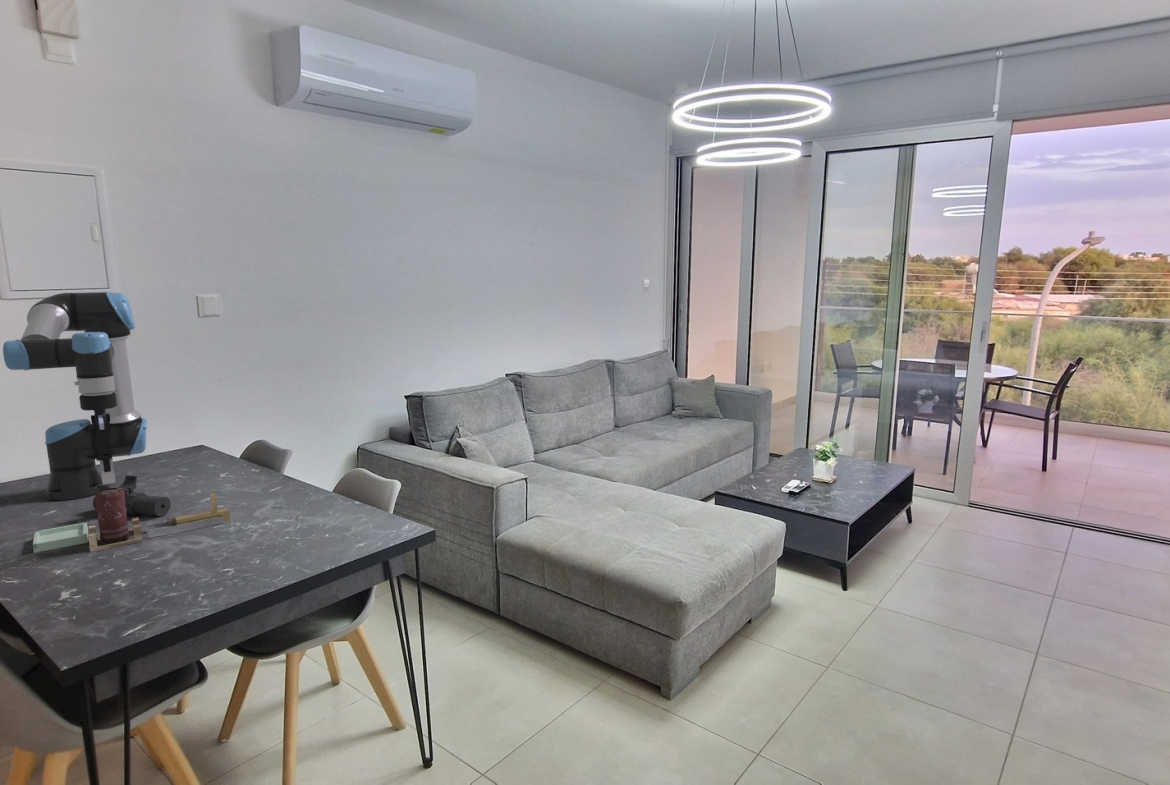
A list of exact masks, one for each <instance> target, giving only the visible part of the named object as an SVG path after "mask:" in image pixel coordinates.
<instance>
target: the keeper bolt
mask: <svg viewBox="0 0 1170 785" xmlns="http://www.w3.org/2000/svg"><path fill="white" fill-rule="evenodd" d="M209 497H210V509H211V510H207V511H201V512H197V513H192V514H185V515H179V516H175V517H169V518H166V521H167V524H168V526H171V525H176V524H182V523H187V522H192V521H198V520H203V519H208V518H213V517H219V516H223V519H224V523H225V522H229V521H231V513H230V509H229V508H228V507H225V508H218V501H217V495H216V493H215V492H212V493H209Z"/></svg>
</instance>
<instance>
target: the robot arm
mask: <svg viewBox="0 0 1170 785" xmlns="http://www.w3.org/2000/svg"><path fill="white" fill-rule="evenodd" d="M26 321H27V324H26V327H25V330H24V332H23V334H22V336H21V338H20V339H15V340H14V339H13V340H7V341H5V342H4V343H3V346H2V353H3V354H2V356H3V359H4V363H5V366H6V367H7V369H9V370H11V371H19V370H20V371H22V370H24V371H29V370H31V371H32V370H43V369H57V368H58V369H61V368H75V371H76V372H75V373H76V380H77V381H74V386H77V388H78V393H79V394H80V395H79V398H78V400H79V405H80V409H81V410H83V411H93V412H94V414H92V415H90V419H91V420H89V419H87V418H83V419H75V420H69V421H65V422H60V423H57V424H54V425H51V426H49V427H48V428H47V429H46V430H45V433H44V434H45V441H44V444H45V445H46V450H47V451H46V452H47V458H48V459H47V460H48V464H49V466H48V467H49V472H50V473H49V478H48V482H47V486H46V489H45V494H46V499H48V500H51V501H67V500H68V501H69V500H76V499H82V498H86V497H90V496H94V495H96V493H97V492H98V491H99V488H98V486H97V485H109V484H115V483H116V482H117V481H116V476H115V468H114V461H113V458H116V457H124V456H125V457H126V456H133V455H139V454H142V453H144V452H145V451H146V448H147V447H146V446H147V424H148V423H147V422H148V420H147V419H146V418H143V417H142V415H141V412H139V411H138V410H135V403H134V397H133V396H134V395H133V388H132V387H133V386H132V379H131V373H130V365H129V358H128V348H127V343H126V340H128V338H129V337H130V336H131V330H132V331H133V330H134V329H135V328H136V324H135V320H134V316H133V312H132V308H131V305H130V302H129V299H128V297H127V296H126V294H124V293H123V292H109V291H103V292H102V291H98V292H96V291H94V292H91V291H90V292H62V293H57V294H53V295H49V296H48V297H45V298H43V299H42V300H39V301H38V302H36V303H35V304H33V305H32V306H31V308H29V310H28V312H27V316H26ZM63 332H78V333H73V334H72V335H71V337H70V338H69V337H68V338H66V337H65V338H61V334H62V333H63ZM96 461H99V467H100V471H99V469H98V467H97V464H96Z"/></svg>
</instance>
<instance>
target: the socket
mask: <svg viewBox="0 0 1170 785" xmlns="http://www.w3.org/2000/svg"><path fill="white" fill-rule="evenodd" d="M131 524H132V529H128V530H129V534H133V536H134V539H130V540H129V539H128V540H127V541H123V542H118V543H113V544H108V545H104V544H102V545H98V540H101V538H100V534H99V535H98V534H97V529H96V528H97V527H96V525H90V526H88V543H89V544H88V545H89V552H90V553H92V552H98V551H102V550H107V549H113V548H117V547H124V546H127V545H132V544H138V543H142V542H143V539H142V530H141V524H140V519H139V517H135V518H131Z"/></svg>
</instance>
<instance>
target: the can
mask: <svg viewBox="0 0 1170 785" xmlns="http://www.w3.org/2000/svg"><path fill="white" fill-rule="evenodd" d="M94 497H95V501H96V509H97V510H96V509H95V510H96V515H97V521H98V530H99V535H100V538H101V539H100V543H101V544H102V545H108V544H113V543H118V542H123V541H128V540H129V538H130V533H129V530H130V529H129V522H128V515H127V514H126V506H125V495H124V490H123V489H122V488H117V487H110V488H109V489H104V490H100V491H98V492H97V493H96V494H95V496H94Z"/></svg>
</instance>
